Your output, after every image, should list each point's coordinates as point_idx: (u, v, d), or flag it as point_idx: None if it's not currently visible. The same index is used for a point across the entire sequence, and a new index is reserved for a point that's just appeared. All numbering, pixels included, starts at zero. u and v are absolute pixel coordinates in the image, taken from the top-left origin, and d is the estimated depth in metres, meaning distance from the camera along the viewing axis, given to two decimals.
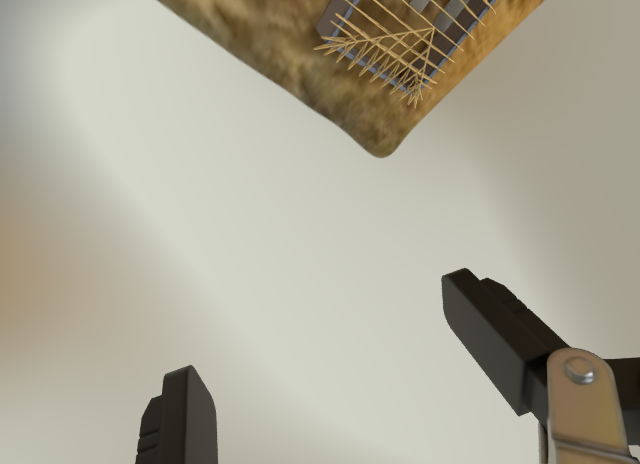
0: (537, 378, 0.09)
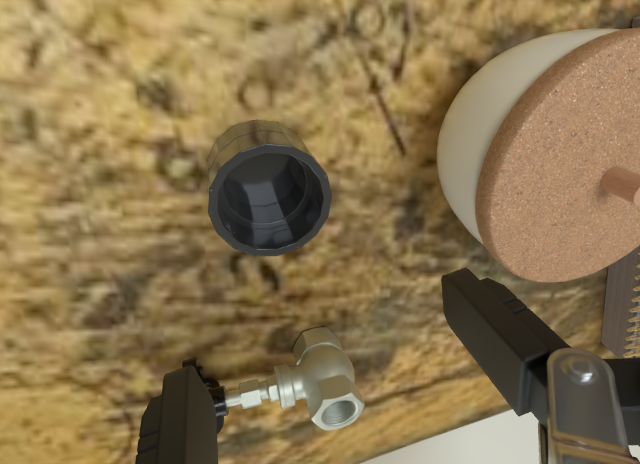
0: (537, 378, 0.09)
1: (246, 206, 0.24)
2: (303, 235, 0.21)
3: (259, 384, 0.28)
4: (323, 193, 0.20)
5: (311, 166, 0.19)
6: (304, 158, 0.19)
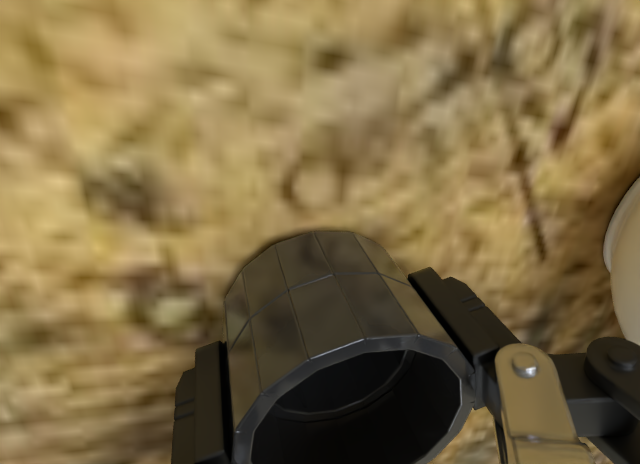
0: (487, 372, 0.09)
1: None
2: (411, 462, 0.11)
3: None
4: (460, 400, 0.10)
5: (450, 362, 0.09)
6: (439, 352, 0.09)
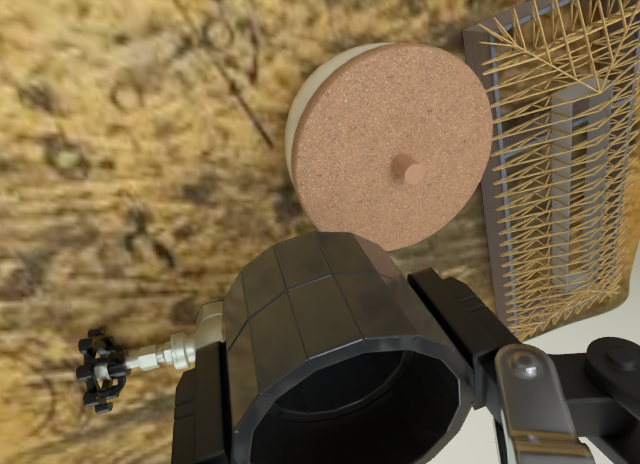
0: (487, 373, 0.09)
1: None
2: (409, 461, 0.11)
3: (157, 349, 0.33)
4: (459, 400, 0.10)
5: (448, 363, 0.09)
6: (438, 352, 0.09)
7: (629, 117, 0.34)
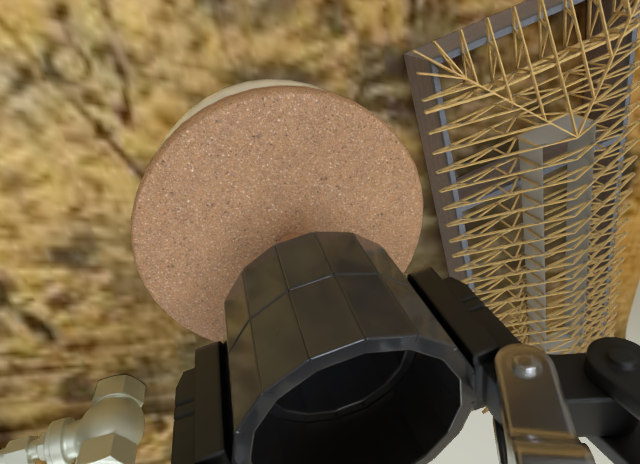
0: (487, 373, 0.09)
1: None
2: (411, 462, 0.11)
3: (31, 442, 0.27)
4: (461, 400, 0.10)
5: (450, 363, 0.09)
6: (439, 352, 0.09)
7: (619, 159, 0.27)
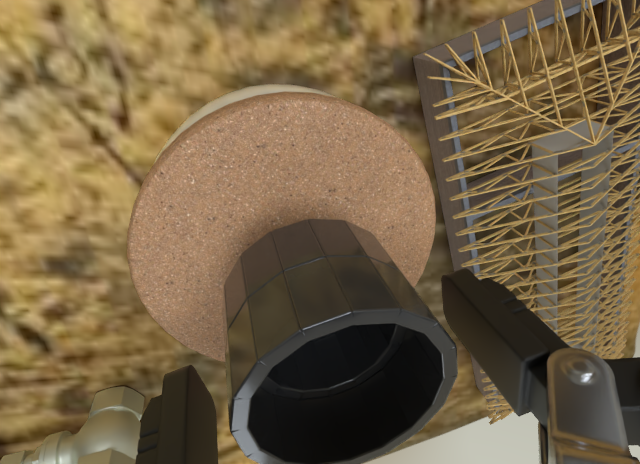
0: (537, 378, 0.09)
1: None
2: (398, 433, 0.12)
3: (26, 457, 0.26)
4: (443, 373, 0.11)
5: (432, 337, 0.10)
6: (421, 326, 0.10)
7: (635, 165, 0.26)
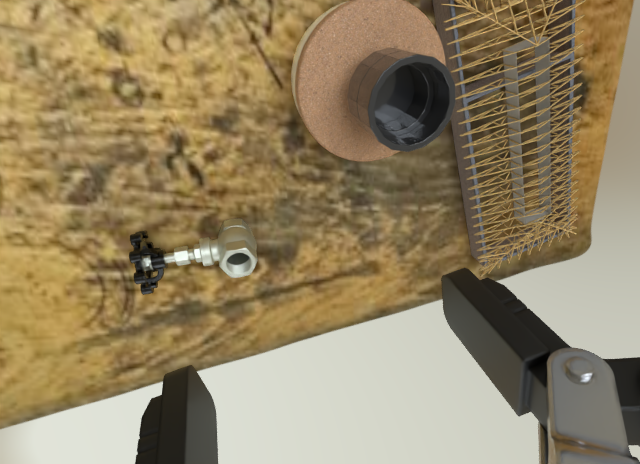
0: (537, 378, 0.09)
1: None
2: (429, 135, 0.27)
3: (188, 249, 0.41)
4: (449, 99, 0.26)
5: (445, 75, 0.25)
6: (441, 68, 0.25)
7: (571, 72, 0.42)
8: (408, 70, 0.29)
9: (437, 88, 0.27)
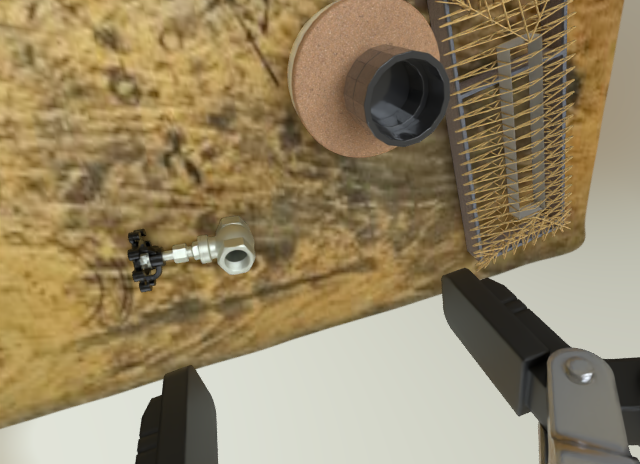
0: (537, 378, 0.09)
1: None
2: (425, 130, 0.28)
3: (186, 246, 0.42)
4: (444, 95, 0.27)
5: (440, 71, 0.26)
6: (436, 64, 0.25)
7: (563, 68, 0.42)
8: (403, 66, 0.30)
9: (432, 84, 0.28)
